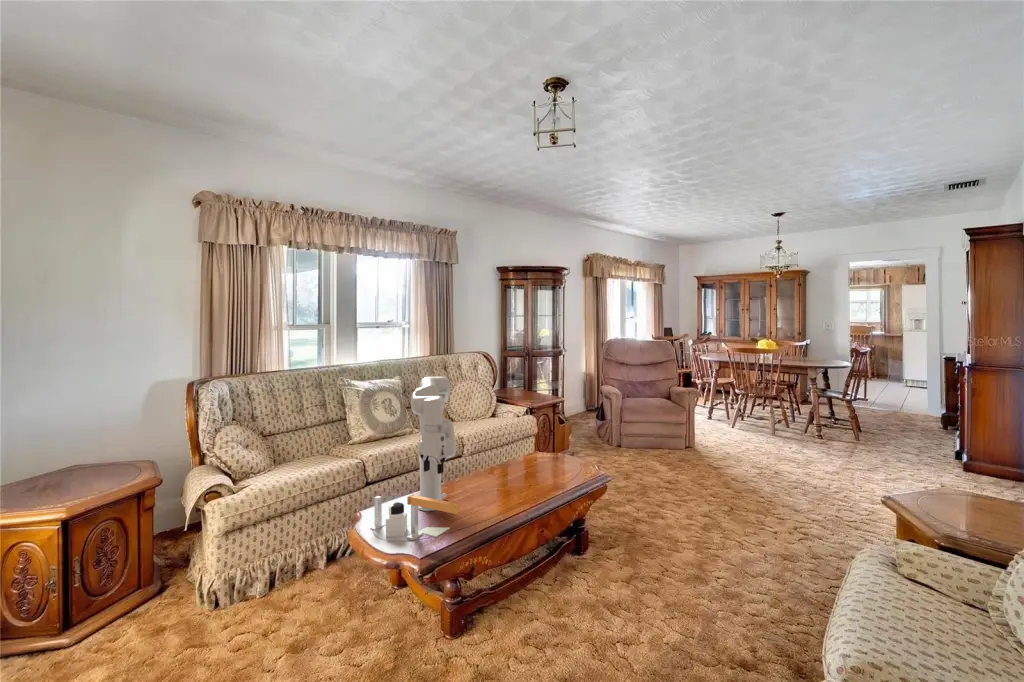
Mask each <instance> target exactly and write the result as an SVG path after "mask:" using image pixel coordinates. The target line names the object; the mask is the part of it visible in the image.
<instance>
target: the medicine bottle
mask: <svg viewBox="0 0 1024 682" xmlns="http://www.w3.org/2000/svg"><path fill="white" fill-rule="evenodd" d="M385 524H386V525H385V537H386V538H395V537H401V538H402V537H404V536H405V534H406V532H407V530H408V514H407V512H405V505H404V503H402V502H398V501H397V502H393V503H390V504H389V505H388V516H387V517H386V518H385Z"/></svg>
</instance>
